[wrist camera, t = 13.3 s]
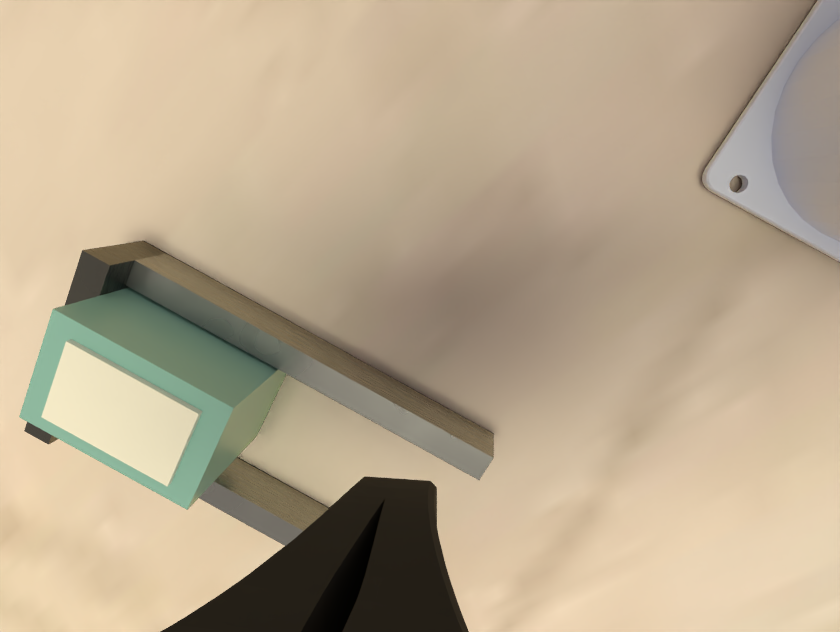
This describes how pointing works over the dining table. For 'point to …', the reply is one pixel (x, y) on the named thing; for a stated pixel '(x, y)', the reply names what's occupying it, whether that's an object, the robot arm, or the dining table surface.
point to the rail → (290, 353)
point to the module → (148, 392)
